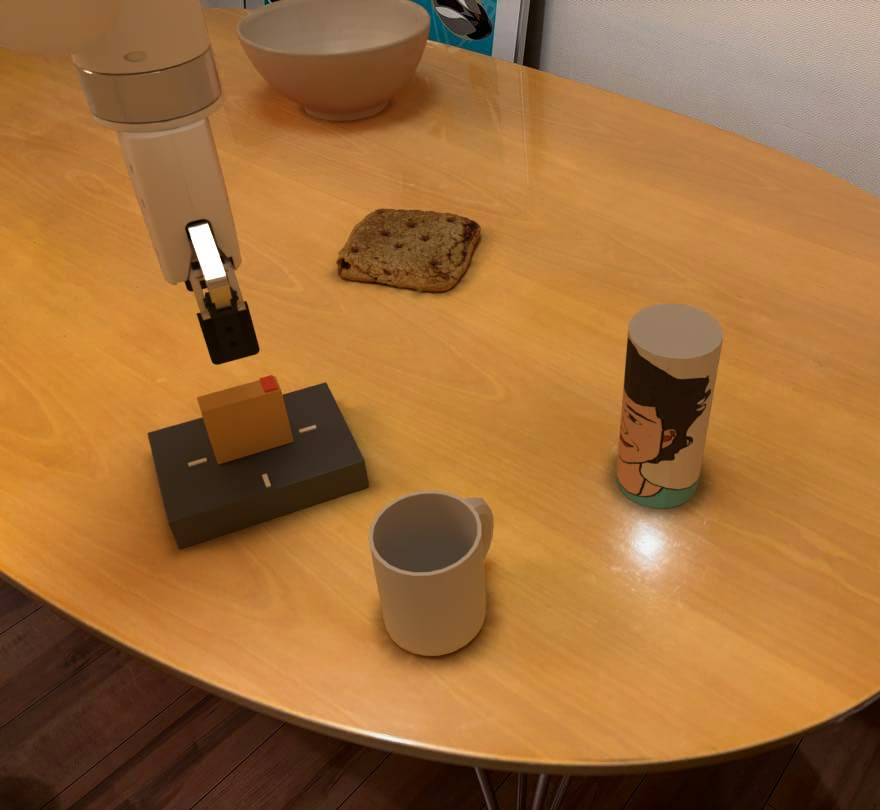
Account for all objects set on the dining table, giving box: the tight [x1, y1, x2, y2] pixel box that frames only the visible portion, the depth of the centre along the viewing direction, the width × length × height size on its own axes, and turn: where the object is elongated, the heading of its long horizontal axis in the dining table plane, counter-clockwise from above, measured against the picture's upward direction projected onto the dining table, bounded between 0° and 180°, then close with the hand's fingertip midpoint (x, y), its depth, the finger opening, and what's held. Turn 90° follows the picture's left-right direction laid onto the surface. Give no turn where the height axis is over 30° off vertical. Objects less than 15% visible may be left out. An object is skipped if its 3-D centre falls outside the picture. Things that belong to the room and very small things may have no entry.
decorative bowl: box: [235, 0, 431, 122], centre depth 128 cm, size 27×27×12 cm
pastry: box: [335, 208, 482, 294], centre depth 98 cm, size 17×17×3 cm
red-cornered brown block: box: [196, 374, 294, 464], centre depth 69 cm, size 6×2×6 cm, turn 116°
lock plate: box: [147, 381, 370, 550], centre depth 72 cm, size 15×11×3 cm
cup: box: [368, 490, 495, 657], centre depth 60 cm, size 7×10×9 cm
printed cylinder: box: [615, 302, 724, 510], centre depth 68 cm, size 7×7×15 cm
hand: (222, 319), depth 63 cm, fingers open, 9 cm apart
